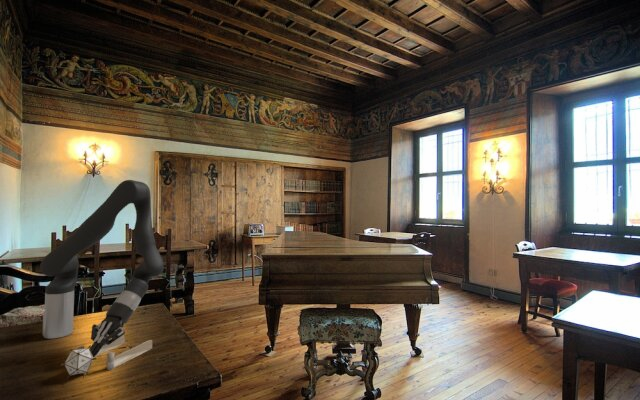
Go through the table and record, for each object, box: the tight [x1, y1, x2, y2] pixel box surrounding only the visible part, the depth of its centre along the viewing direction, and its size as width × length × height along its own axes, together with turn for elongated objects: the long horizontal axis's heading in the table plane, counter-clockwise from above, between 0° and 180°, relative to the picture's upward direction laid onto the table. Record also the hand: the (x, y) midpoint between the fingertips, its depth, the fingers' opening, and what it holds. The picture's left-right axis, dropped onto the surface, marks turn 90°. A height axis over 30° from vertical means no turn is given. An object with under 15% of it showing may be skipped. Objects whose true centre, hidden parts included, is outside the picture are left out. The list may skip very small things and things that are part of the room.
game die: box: [60, 345, 97, 379], centre depth 101 cm, size 9×8×10 cm
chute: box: [76, 334, 153, 371], centre depth 114 cm, size 15×18×5 cm
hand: (90, 355), depth 105 cm, fingers closed
